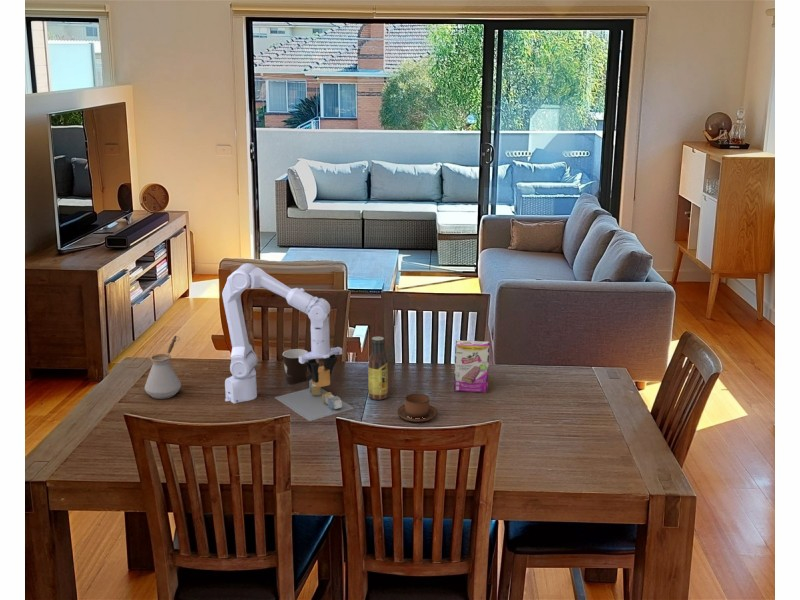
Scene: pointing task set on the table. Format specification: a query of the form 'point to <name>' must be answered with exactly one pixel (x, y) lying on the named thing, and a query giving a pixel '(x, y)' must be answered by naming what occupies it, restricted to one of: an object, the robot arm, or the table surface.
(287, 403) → the base board
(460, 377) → the candy bar box
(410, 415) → the cup and saucer
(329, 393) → the shaft rig
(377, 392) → the sauce bottle
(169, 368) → the coffee pot
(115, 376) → the table surface
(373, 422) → the table surface
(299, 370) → the coffee mug
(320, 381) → the brown square block
